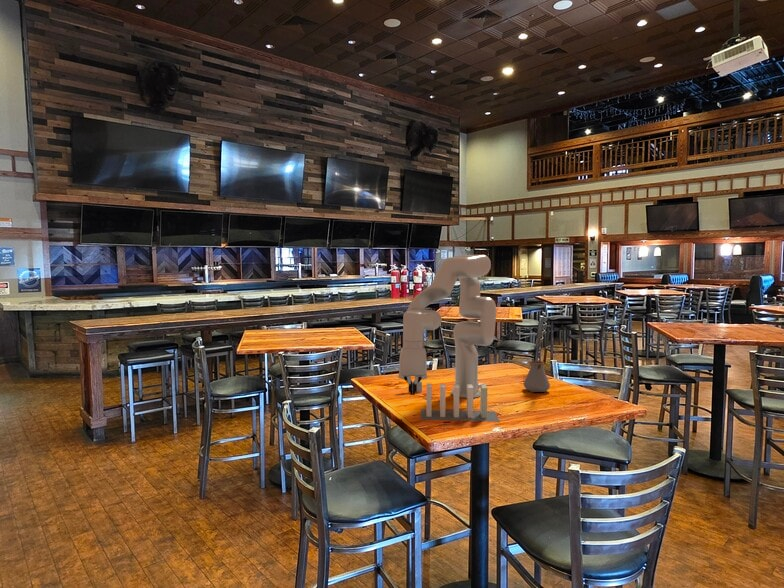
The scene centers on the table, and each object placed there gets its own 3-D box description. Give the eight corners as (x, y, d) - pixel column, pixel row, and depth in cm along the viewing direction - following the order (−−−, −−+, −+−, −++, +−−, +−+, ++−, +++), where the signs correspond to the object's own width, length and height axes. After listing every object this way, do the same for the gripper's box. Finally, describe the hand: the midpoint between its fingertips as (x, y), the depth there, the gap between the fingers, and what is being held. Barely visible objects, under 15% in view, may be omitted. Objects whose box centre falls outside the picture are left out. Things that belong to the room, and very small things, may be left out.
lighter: (421, 391, 210) (421, 373, 210) (421, 392, 209) (422, 374, 208) (405, 391, 210) (405, 373, 210) (405, 392, 208) (405, 374, 208)
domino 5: (485, 413, 177) (485, 384, 176) (486, 418, 172) (487, 388, 171) (480, 413, 177) (480, 384, 176) (481, 418, 172) (482, 388, 171)
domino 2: (440, 416, 173) (440, 387, 172) (439, 412, 178) (440, 383, 177) (445, 417, 173) (445, 387, 172) (444, 412, 178) (445, 383, 177)
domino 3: (454, 417, 173) (454, 387, 172) (453, 413, 178) (453, 384, 177) (459, 417, 173) (459, 387, 172) (458, 413, 178) (458, 384, 177)
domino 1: (426, 416, 173) (426, 386, 173) (426, 412, 178) (426, 383, 178) (431, 416, 173) (431, 386, 173) (431, 412, 178) (431, 383, 178)
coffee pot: (522, 386, 219) (523, 354, 218) (548, 388, 216) (549, 355, 215) (524, 399, 198) (525, 363, 197) (553, 401, 195) (554, 365, 195)
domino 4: (467, 417, 172) (468, 387, 172) (466, 413, 177) (467, 384, 177) (472, 417, 172) (473, 387, 172) (471, 413, 177) (472, 384, 177)
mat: (420, 420, 170) (420, 419, 170) (420, 410, 182) (420, 409, 182) (499, 422, 168) (499, 421, 168) (494, 412, 180) (494, 411, 180)
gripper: (433, 343, 178) (432, 392, 179) (393, 342, 179) (393, 391, 180) (433, 347, 170) (433, 397, 171) (392, 346, 171) (391, 396, 172)
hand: (412, 394), depth 176 cm, fingers closed
